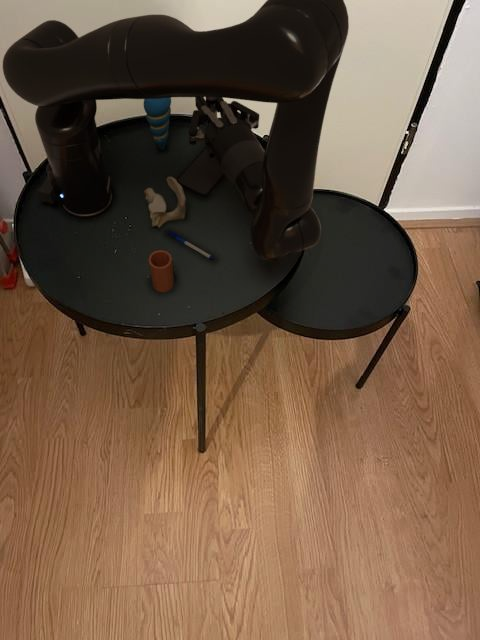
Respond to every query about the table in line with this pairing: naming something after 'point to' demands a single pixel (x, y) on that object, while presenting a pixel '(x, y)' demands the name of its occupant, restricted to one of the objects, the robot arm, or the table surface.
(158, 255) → the pen cup
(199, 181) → the smartphone
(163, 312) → the table surface
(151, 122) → the ornament
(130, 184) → the table surface
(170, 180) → the bone
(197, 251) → the ballpoint pen
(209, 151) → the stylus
